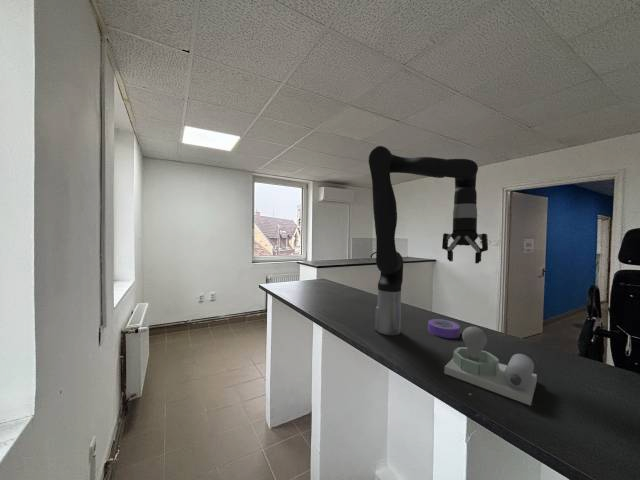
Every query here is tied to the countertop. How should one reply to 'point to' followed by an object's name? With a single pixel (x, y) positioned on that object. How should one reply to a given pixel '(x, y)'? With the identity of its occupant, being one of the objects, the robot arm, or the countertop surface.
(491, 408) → the countertop surface
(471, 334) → the lightbulb
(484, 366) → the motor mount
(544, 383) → the countertop surface
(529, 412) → the countertop surface
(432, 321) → the masking tape
